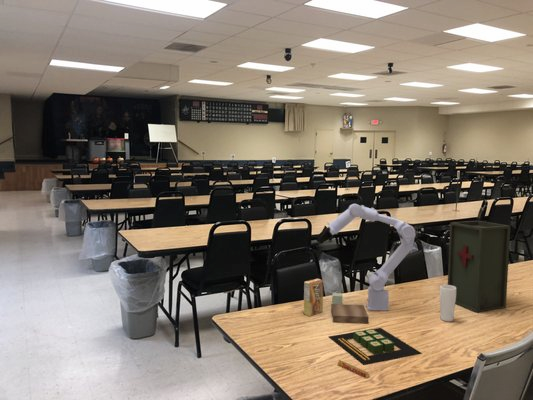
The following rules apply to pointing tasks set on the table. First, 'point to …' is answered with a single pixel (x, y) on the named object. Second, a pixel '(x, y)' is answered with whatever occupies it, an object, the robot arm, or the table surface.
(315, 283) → the candy box
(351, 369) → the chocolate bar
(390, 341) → the sushi
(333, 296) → the green block
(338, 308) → the walnut base
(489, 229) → the first aid box
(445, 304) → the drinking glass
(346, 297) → the table surface
